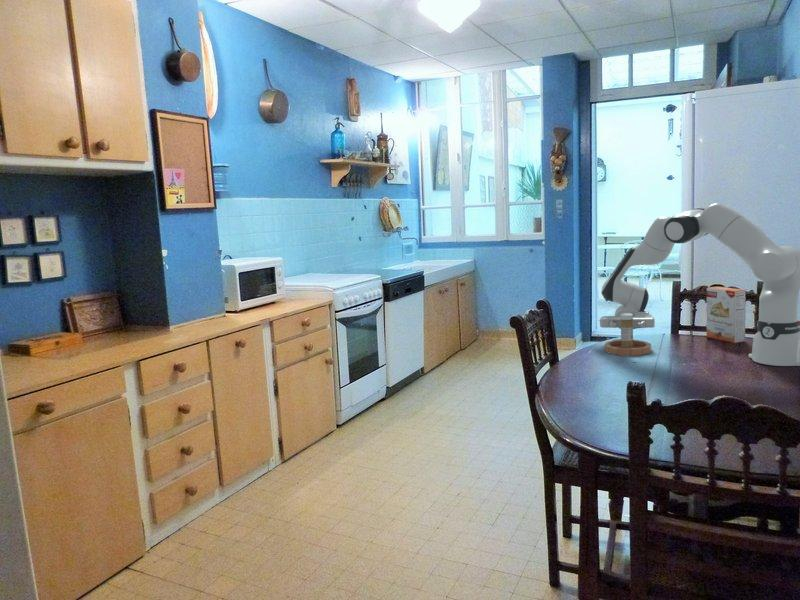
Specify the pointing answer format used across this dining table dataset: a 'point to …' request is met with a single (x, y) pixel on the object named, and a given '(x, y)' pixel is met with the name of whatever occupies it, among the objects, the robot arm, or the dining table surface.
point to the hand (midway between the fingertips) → (627, 325)
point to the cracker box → (726, 314)
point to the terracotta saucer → (637, 349)
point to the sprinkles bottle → (626, 330)
